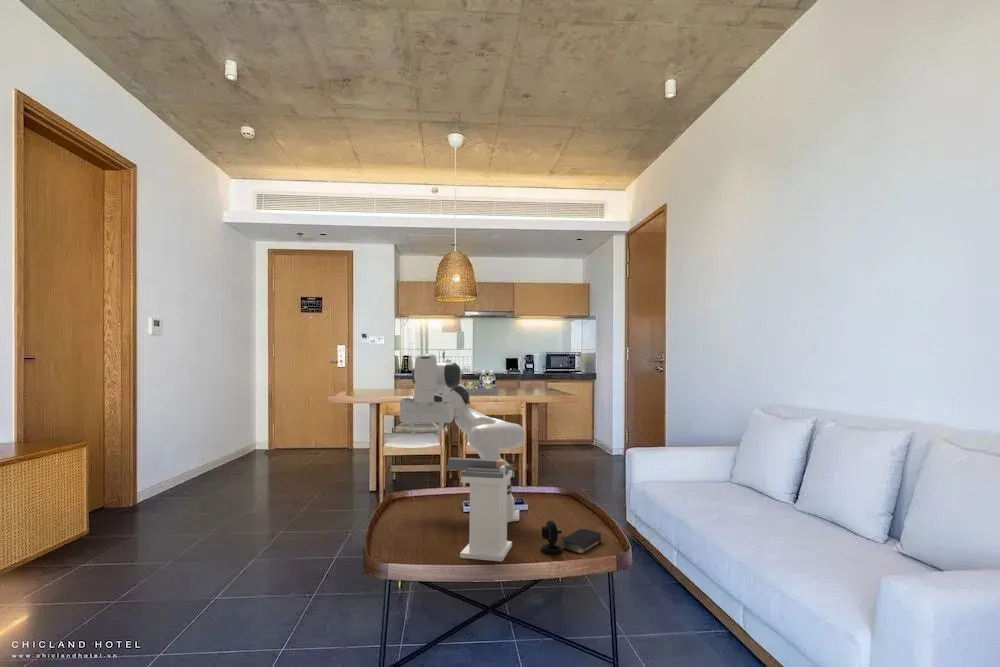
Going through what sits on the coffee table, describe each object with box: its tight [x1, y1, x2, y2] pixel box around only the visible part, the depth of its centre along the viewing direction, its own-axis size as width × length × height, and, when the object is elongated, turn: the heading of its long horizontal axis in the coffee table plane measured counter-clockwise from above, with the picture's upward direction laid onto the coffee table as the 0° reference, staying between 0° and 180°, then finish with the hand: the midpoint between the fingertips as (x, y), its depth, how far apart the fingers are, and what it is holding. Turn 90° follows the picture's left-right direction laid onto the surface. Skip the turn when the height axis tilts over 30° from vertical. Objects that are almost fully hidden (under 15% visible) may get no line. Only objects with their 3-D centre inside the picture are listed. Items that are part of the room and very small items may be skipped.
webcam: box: [540, 519, 564, 555], centre depth 178 cm, size 8×8×10 cm
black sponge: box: [561, 528, 602, 554], centre depth 183 cm, size 16×8×4 cm, turn 143°
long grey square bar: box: [447, 457, 507, 471], centre depth 183 cm, size 4×20×4 cm, turn 77°
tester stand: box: [459, 465, 513, 562], centre depth 177 cm, size 16×14×29 cm
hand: (426, 435), depth 193 cm, fingers open, 8 cm apart
